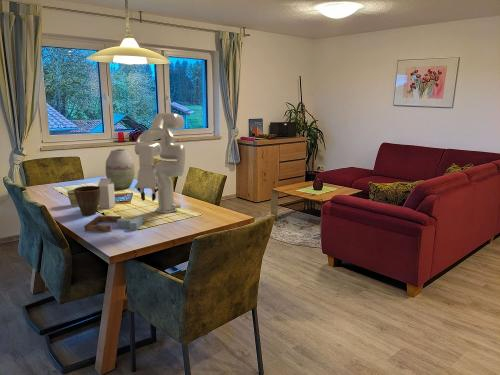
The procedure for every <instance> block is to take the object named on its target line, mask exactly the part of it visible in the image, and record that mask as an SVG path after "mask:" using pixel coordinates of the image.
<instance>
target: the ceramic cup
mask: <svg viewBox="0 0 500 375" xmlns="http://www.w3.org/2000/svg"><path fill="white" fill-rule="evenodd" d="M67 196H68V199H69V202H70V205H71V207H72V208H79V206H78V203H77V200H76V197H75V193H74V189H69V190H68V191H67Z"/></svg>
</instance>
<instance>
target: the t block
mask: <svg viewBox="0 0 500 375" xmlns="http://www.w3.org/2000/svg"><path fill="white" fill-rule="evenodd" d="M116 224H117V228H118V229H119V228H121V229H122V228H123V229H125V228H126V229H129V231H138V230H139V229H140V228H141V226H143V224H144V216H137V215H136V216H135V217H134V218H126V217H125V218H122V217H121V218H119V219H118V220H117V222H116Z"/></svg>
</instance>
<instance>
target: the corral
mask: <svg viewBox="0 0 500 375" xmlns="http://www.w3.org/2000/svg"><path fill="white" fill-rule="evenodd" d="M119 218H122V216H121V215H97V216H96V217H94V218H93V219H92V220H91V221H89V222H88V223H86V224H84V225H83V226H84V232H108V233H110V232H112V227H111V225H110V224H108V225H104V224H100V223H103V222H104V223H106V222H107V223H111V222H112V223H117V220H118V219H119ZM98 224H100V225H98Z"/></svg>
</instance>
